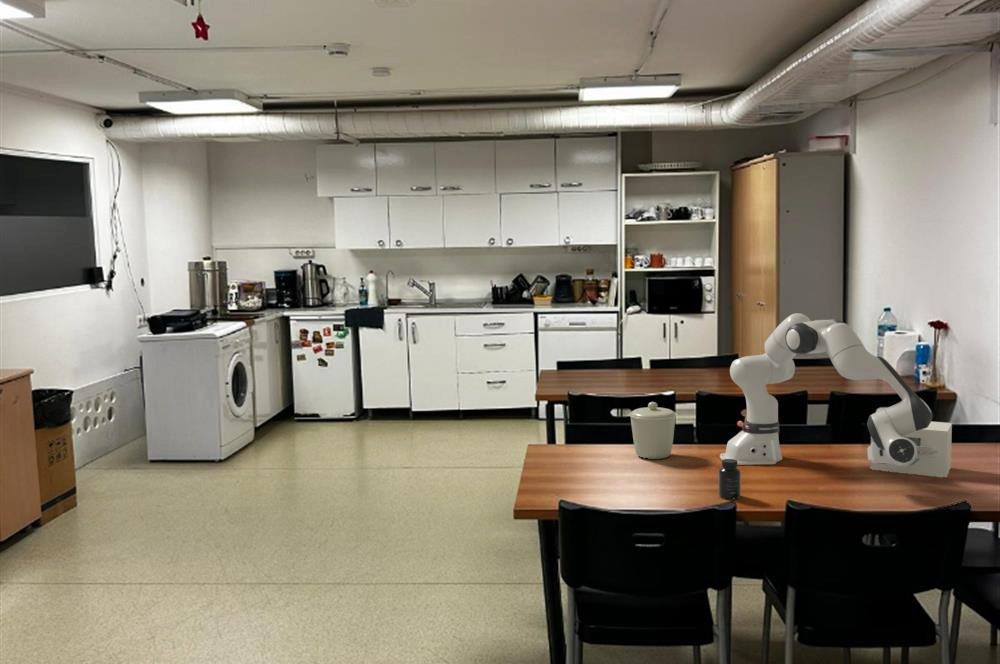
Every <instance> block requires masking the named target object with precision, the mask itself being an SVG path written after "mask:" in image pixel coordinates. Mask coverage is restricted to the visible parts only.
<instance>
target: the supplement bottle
mask: <svg viewBox="0 0 1000 664" xmlns="http://www.w3.org/2000/svg"><path fill="white" fill-rule="evenodd" d="M738 466H739V465H737V460H734V459H724V460H722V459H721V468H719V470H718V495H719V497H720V498H721V499H723V498H725V499H724V500H729V499H733V498H738V497H740V498H741V496H742V494H741V492H742V490H741V487H742V486H741V485H742V483H741V480H742V478H741V477H742V475H741V470H740V469H739V468H738ZM738 499H739V498H738Z"/></svg>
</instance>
